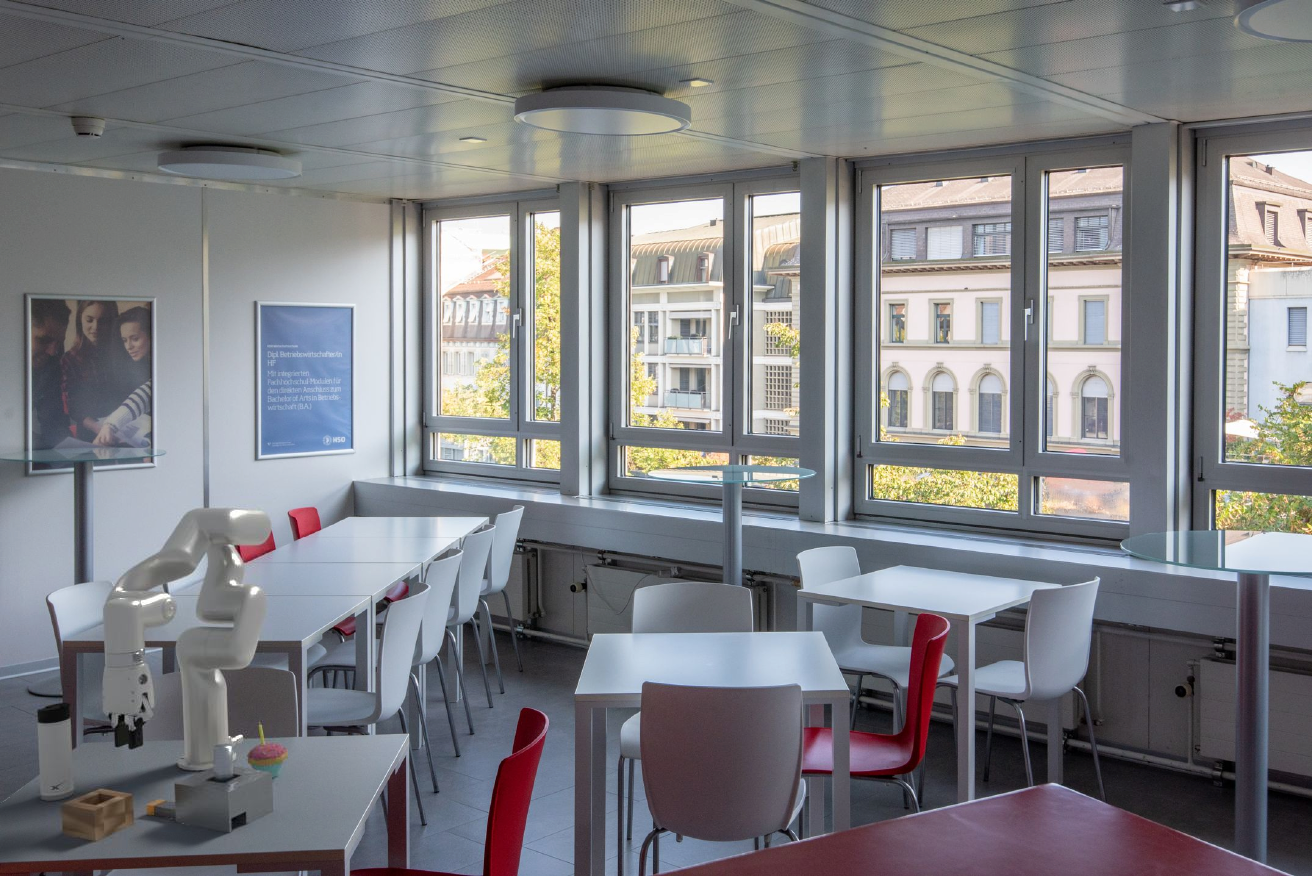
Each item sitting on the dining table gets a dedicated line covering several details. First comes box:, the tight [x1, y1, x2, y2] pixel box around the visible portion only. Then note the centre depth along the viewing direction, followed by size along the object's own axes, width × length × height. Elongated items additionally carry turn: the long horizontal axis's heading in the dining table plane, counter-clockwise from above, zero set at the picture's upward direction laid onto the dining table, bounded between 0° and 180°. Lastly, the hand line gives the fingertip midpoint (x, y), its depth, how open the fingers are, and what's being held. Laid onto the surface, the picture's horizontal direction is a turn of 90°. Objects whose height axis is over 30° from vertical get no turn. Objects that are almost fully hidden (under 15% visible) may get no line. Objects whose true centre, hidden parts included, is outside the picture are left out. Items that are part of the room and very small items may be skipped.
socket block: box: [174, 765, 274, 833], centre depth 226 cm, size 12×14×8 cm
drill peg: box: [213, 744, 234, 783], centre depth 226 cm, size 4×4×11 cm
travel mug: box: [36, 702, 75, 802], centre depth 239 cm, size 6×7×20 cm
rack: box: [61, 788, 135, 842], centre depth 221 cm, size 9×9×6 cm
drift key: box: [146, 798, 176, 820], centre depth 226 cm, size 3×16×2 cm, turn 67°
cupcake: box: [246, 721, 289, 779], centre depth 250 cm, size 9×8×12 cm
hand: (129, 745), depth 231 cm, fingers open, 3 cm apart
